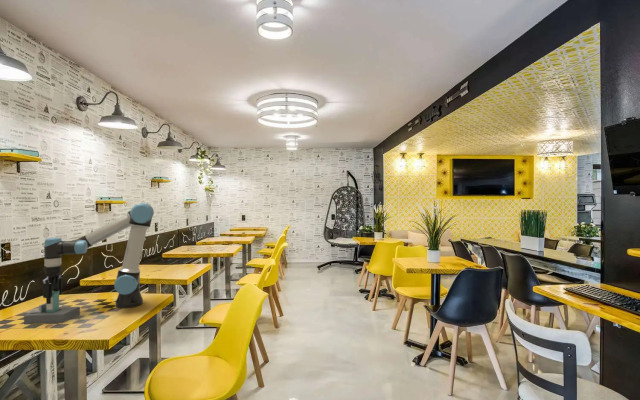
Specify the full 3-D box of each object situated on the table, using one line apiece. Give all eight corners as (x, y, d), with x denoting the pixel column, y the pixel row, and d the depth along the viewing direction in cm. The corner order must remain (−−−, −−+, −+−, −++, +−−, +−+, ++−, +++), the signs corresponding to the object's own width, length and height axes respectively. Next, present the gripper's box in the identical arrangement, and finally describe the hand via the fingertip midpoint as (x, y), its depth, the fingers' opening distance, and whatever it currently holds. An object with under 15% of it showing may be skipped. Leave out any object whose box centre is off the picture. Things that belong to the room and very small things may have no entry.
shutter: (51, 308, 194) (51, 301, 194) (41, 312, 186) (41, 305, 187) (37, 308, 194) (37, 302, 194) (26, 313, 186) (26, 306, 186)
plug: (59, 310, 193) (59, 290, 193) (53, 313, 188) (54, 292, 188) (51, 310, 192) (51, 291, 193) (45, 313, 188) (45, 293, 188)
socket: (79, 314, 198) (79, 306, 198) (63, 322, 184) (63, 314, 184) (43, 315, 197) (43, 307, 197) (24, 324, 183) (24, 315, 183)
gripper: (56, 263, 199) (56, 303, 199) (33, 268, 182) (33, 313, 182) (70, 263, 199) (70, 303, 199) (48, 268, 182) (48, 312, 182)
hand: (52, 308), depth 190 cm, fingers closed on plug, 4 cm apart
